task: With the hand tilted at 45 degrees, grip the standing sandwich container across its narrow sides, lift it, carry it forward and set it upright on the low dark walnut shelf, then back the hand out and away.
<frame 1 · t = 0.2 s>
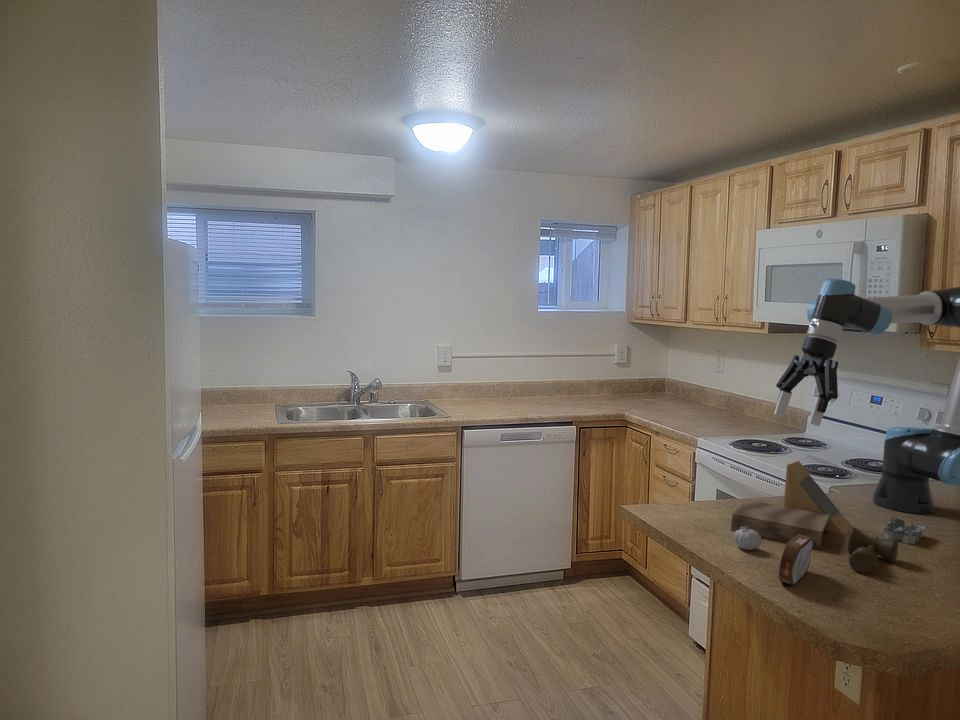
hand: (795, 420, 173), 27 cm above the countertop, tool tilted 15°, fingers open, 13 cm apart
garlic: (746, 549, 158), on the countertop
kendama: (868, 563, 153), on the countertop
tin: (794, 579, 141), on the countertop
walnut shelf: (779, 530, 172), on the countertop
sandwich container: (817, 525, 179), on the countertop
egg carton: (903, 538, 171), on the countertop
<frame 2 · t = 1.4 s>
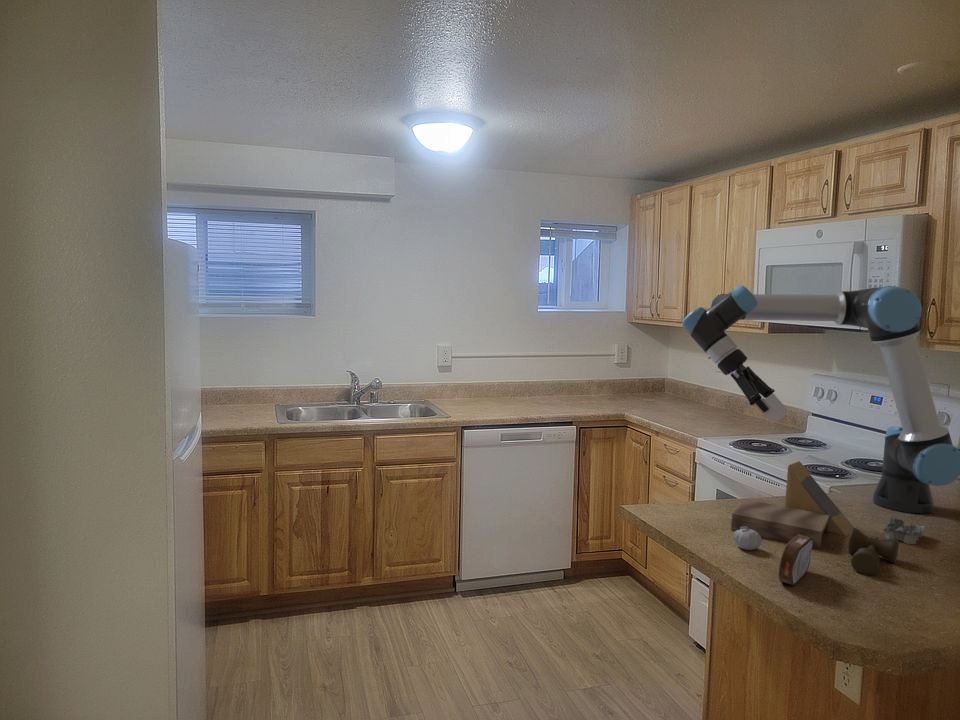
hand: (781, 417, 182), 26 cm above the countertop, tool tilted 45°, fingers open, 13 cm apart
nothing on the countertop moved.
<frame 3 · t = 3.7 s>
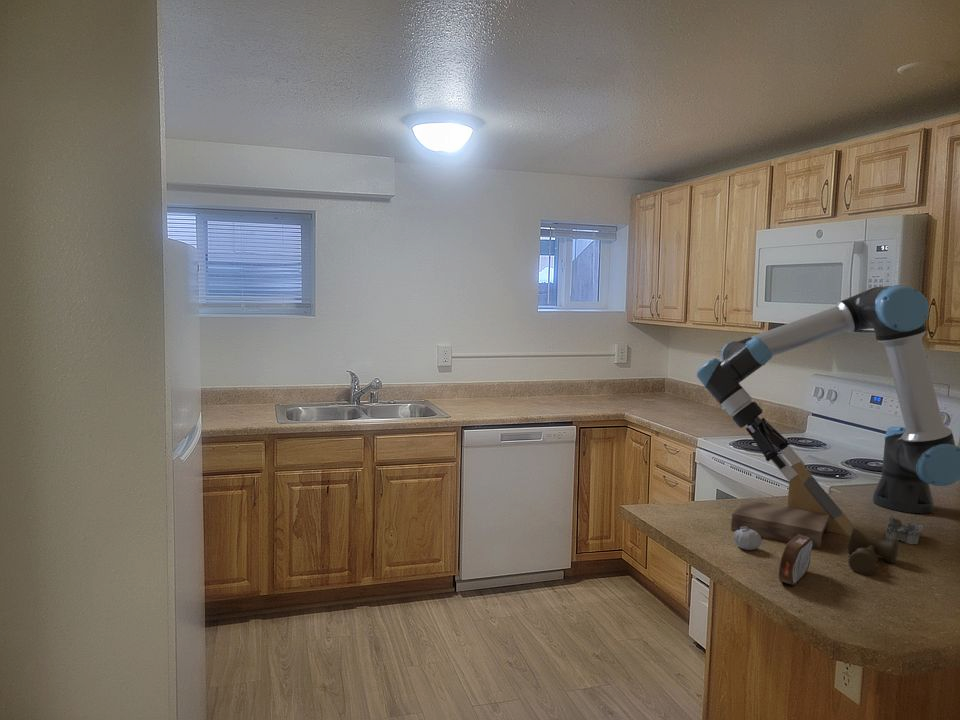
hand: (797, 472, 180), 13 cm above the countertop, tool tilted 45°, fingers open, 13 cm apart
nothing on the countertop moved.
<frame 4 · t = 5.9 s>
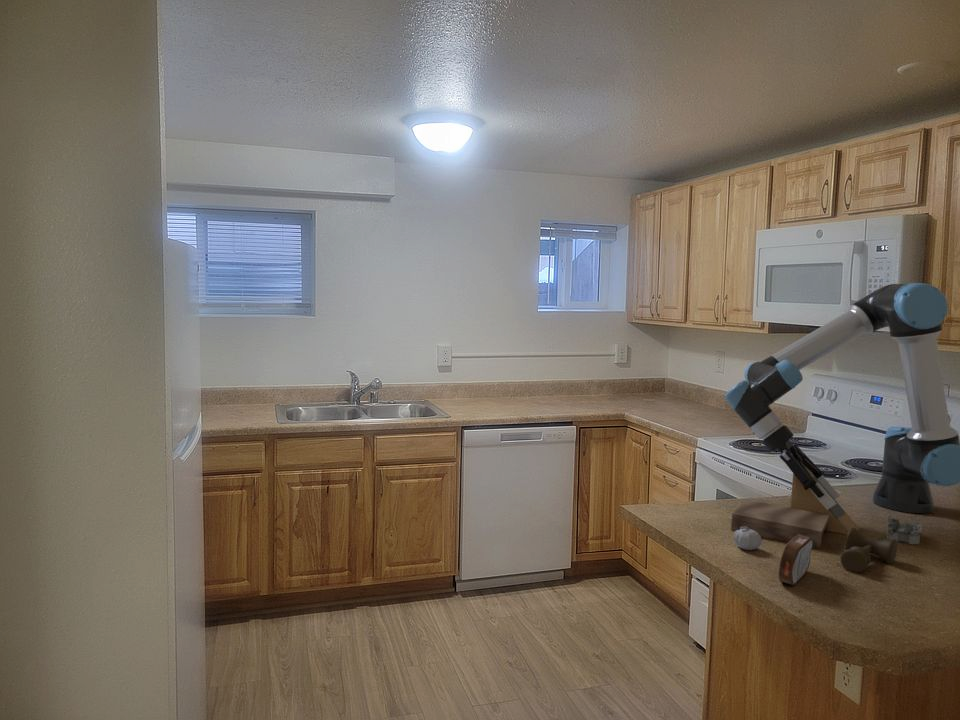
hand: (833, 502, 176), 6 cm above the countertop, tool tilted 45°, fingers closed on sandwich container, 8 cm apart
sandwich container: (824, 526, 178), on the countertop, touching gripper
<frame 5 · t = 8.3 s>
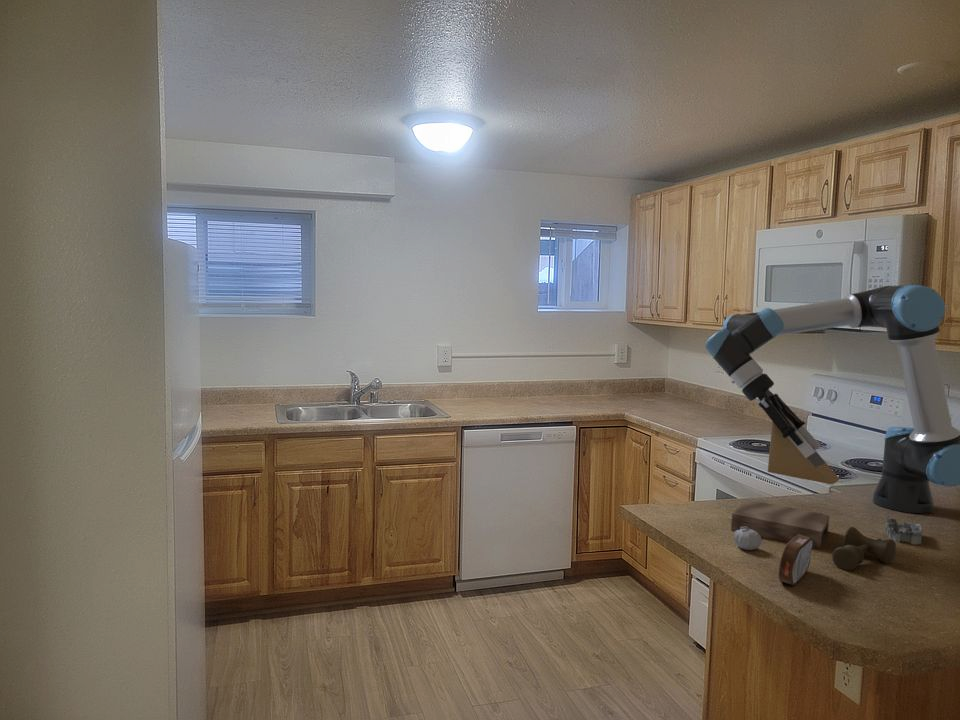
hand: (813, 451, 172), 20 cm above the countertop, tool tilted 45°, fingers closed on sandwich container, 8 cm apart
sandwich container: (803, 476, 173), point 13 cm above the countertop, touching gripper
when the fingers open (12 cm above the countertop, at t = 10.8 s): sandwich container drops 1 cm, resting on walnut shelf.
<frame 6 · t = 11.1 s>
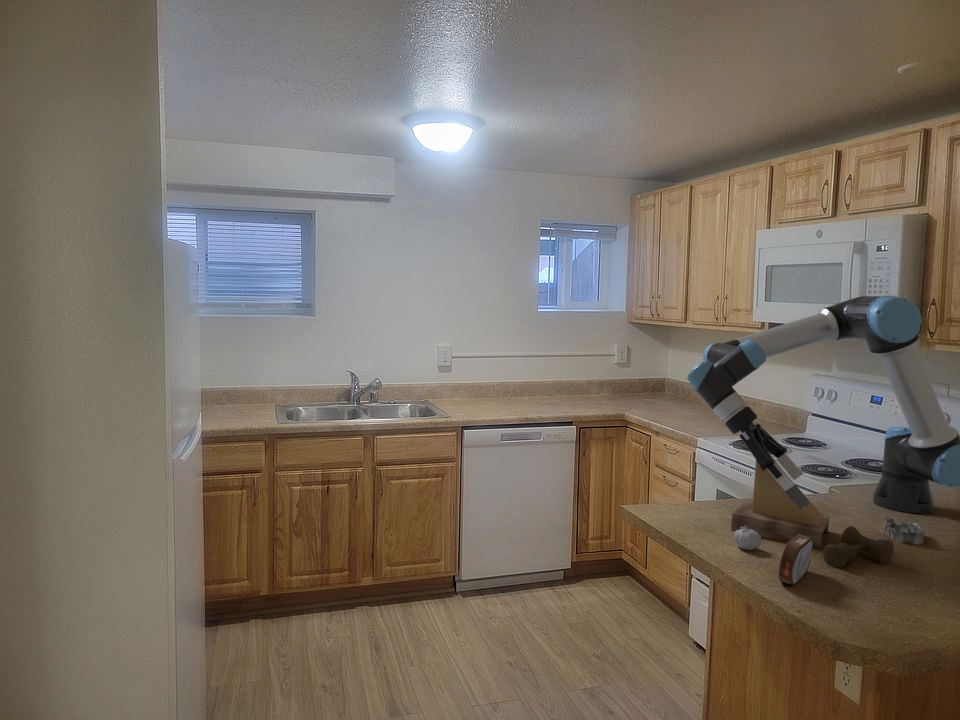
hand: (794, 482, 169), 13 cm above the countertop, tool tilted 45°, fingers open, 13 cm apart
sandwich container: (788, 516, 170), point 4 cm above the countertop, touching walnut shelf
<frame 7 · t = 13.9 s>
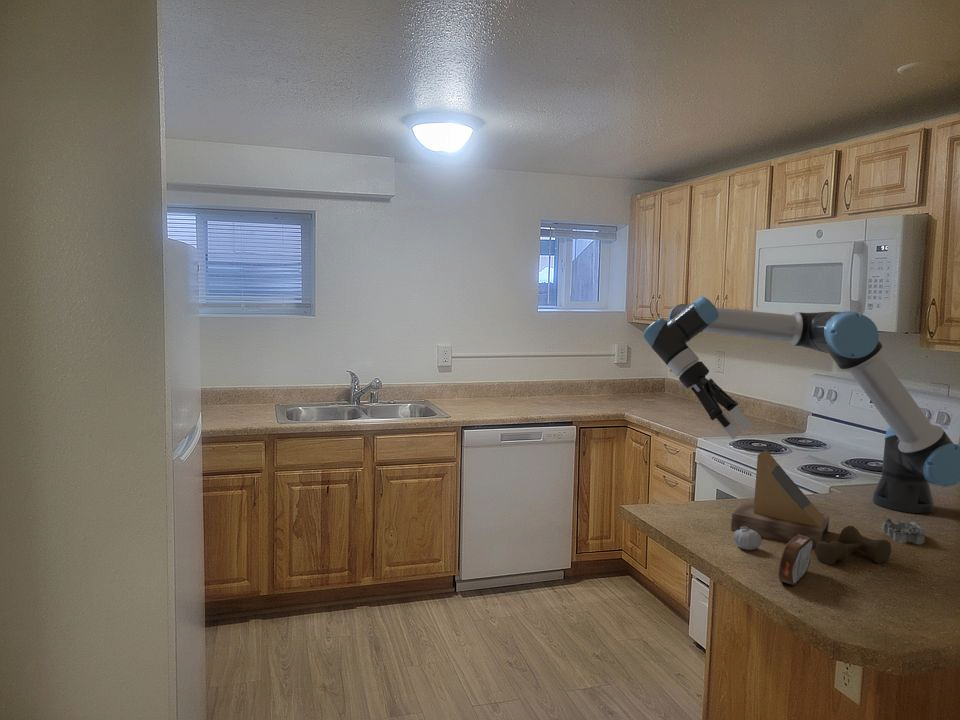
hand: (743, 432, 177), 23 cm above the countertop, tool tilted 45°, fingers open, 13 cm apart
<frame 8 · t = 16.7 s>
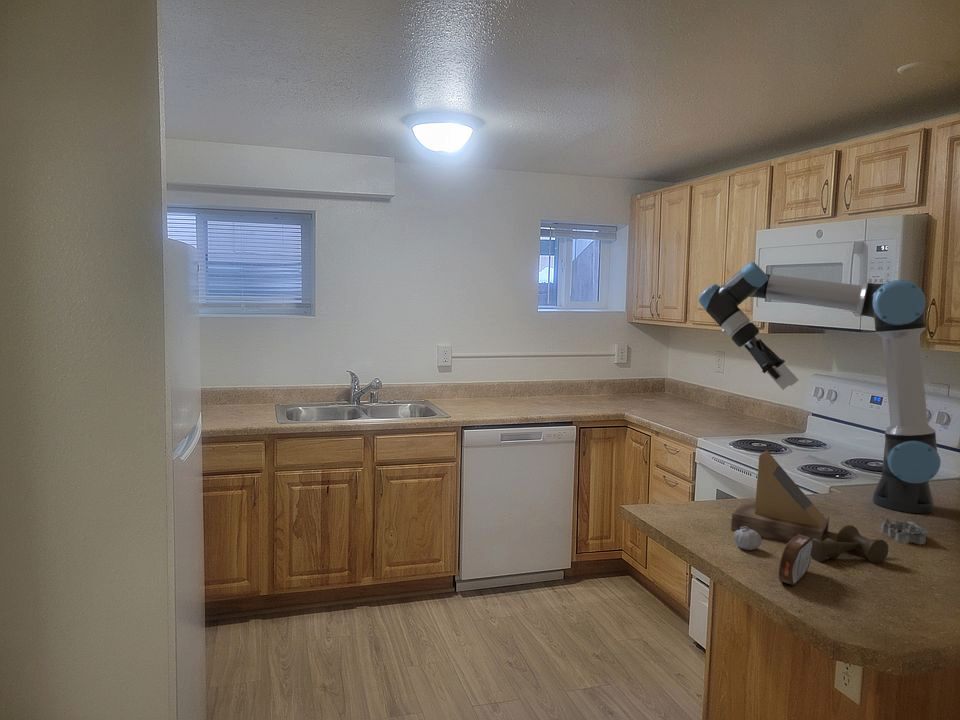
hand: (791, 385, 197), 34 cm above the countertop, tool tilted 45°, fingers open, 13 cm apart
at the end: sandwich container inside the target area on the walnut shelf (2.3 cm from its centre), point 4.0 cm above the walnut shelf's base; sandwich container tilted 0°; the gripper is holding nothing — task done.
